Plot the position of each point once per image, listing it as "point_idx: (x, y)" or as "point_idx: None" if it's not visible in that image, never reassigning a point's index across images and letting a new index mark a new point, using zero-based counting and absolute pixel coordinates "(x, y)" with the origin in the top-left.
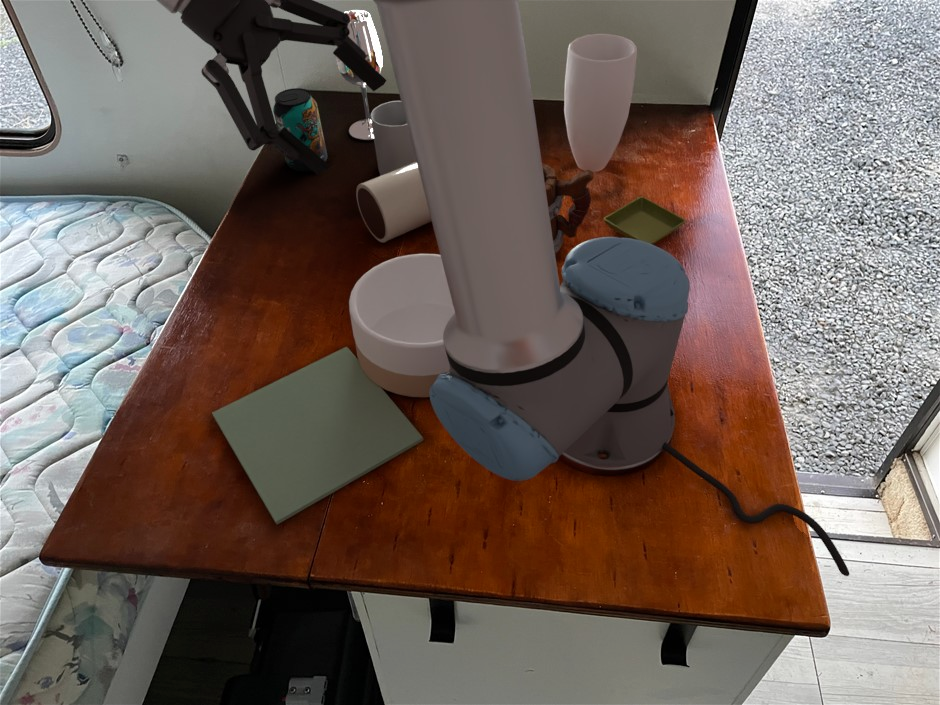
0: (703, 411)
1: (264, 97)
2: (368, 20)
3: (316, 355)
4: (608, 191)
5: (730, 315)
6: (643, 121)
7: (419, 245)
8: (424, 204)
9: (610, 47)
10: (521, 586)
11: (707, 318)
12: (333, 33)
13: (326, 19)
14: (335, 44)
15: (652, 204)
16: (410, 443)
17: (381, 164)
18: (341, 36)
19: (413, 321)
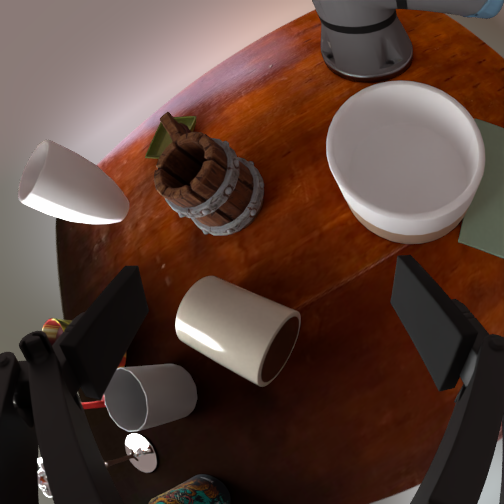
0: (320, 30)
1: (474, 426)
2: (38, 460)
3: (481, 264)
4: (140, 193)
5: (236, 60)
6: (70, 230)
7: (279, 292)
8: (240, 289)
9: (29, 184)
10: (480, 41)
11: (245, 64)
12: (47, 376)
13: (15, 412)
14: (76, 391)
15: (151, 146)
16: (484, 122)
17: (184, 407)
18: (50, 357)
19: (392, 204)
